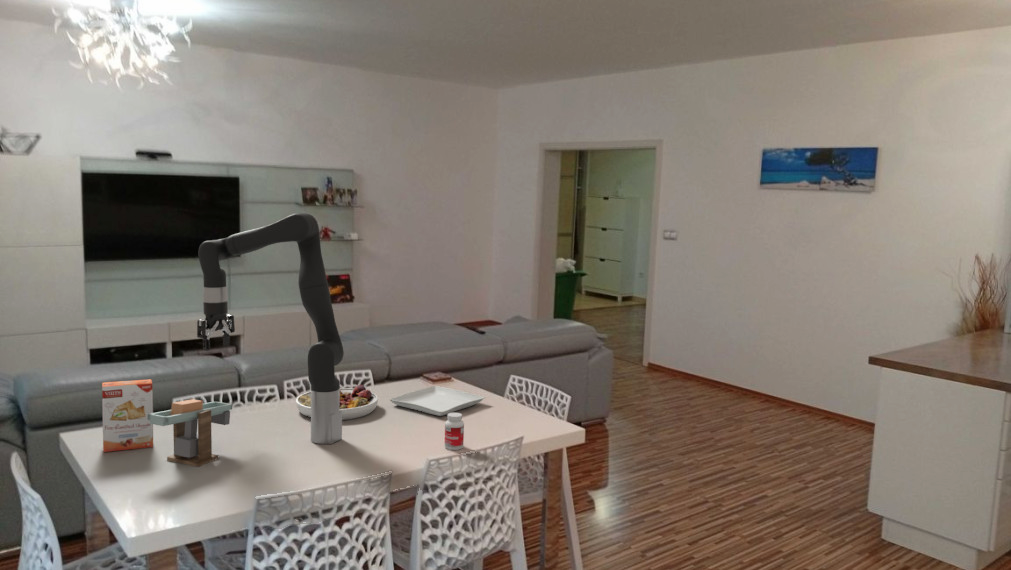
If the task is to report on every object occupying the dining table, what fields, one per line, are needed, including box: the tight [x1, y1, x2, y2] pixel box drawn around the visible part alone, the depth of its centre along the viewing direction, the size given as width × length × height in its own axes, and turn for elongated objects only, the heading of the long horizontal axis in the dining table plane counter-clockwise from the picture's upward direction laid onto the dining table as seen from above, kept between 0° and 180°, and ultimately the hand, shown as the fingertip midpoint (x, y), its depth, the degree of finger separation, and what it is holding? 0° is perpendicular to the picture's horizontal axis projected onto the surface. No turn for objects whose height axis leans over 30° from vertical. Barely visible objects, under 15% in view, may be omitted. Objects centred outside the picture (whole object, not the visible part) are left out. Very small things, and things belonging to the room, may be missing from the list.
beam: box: [148, 400, 233, 458], centre depth 220 cm, size 7×26×14 cm, turn 158°
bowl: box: [295, 384, 379, 421], centre depth 277 cm, size 30×30×8 cm
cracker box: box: [101, 378, 154, 453], centre depth 229 cm, size 14×6×21 cm, turn 117°
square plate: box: [389, 385, 486, 417], centre depth 288 cm, size 27×27×4 cm
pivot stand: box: [166, 410, 219, 468], centre depth 221 cm, size 12×8×16 cm, turn 68°
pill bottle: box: [444, 412, 465, 451], centre depth 240 cm, size 6×6×11 cm
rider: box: [170, 398, 204, 415], centre depth 218 cm, size 4×8×4 cm, turn 158°
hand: (216, 348), depth 247 cm, fingers open, 8 cm apart
